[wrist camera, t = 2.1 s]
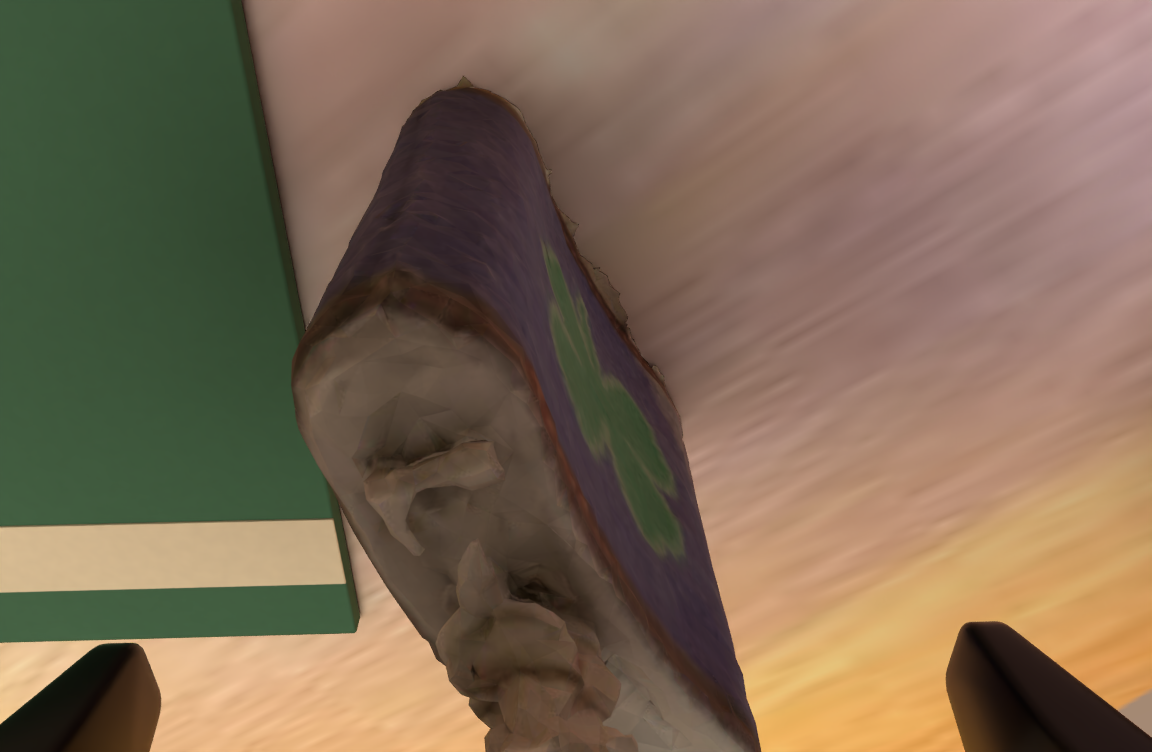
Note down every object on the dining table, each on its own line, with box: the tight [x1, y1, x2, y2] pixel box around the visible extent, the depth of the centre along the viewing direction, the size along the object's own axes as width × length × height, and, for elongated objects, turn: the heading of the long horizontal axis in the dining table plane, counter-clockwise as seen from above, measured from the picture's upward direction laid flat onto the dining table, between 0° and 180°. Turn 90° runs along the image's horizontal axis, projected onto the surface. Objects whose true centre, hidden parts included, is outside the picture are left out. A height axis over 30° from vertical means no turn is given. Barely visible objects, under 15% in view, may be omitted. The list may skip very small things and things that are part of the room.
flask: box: [291, 76, 761, 752], centre depth 13 cm, size 9×3×11 cm, turn 26°
